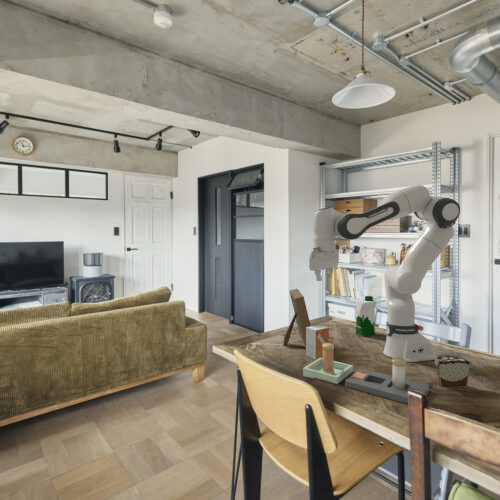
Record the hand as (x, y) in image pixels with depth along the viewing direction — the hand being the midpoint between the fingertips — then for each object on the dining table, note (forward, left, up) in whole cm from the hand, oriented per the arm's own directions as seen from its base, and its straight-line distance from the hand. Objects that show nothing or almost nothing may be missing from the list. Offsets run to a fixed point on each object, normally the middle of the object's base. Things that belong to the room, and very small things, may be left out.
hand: (324, 279), depth 149 cm
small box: (+2, -5, -35) cm, 35 cm away
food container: (-39, +25, -35) cm, 58 cm away
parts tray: (+2, +15, -35) cm, 38 cm away
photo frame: (+8, -25, -35) cm, 44 cm away
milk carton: (-30, -36, -35) cm, 59 cm away
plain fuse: (-18, +31, -34) cm, 50 cm away
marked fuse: (+2, +14, -34) cm, 37 cm away
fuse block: (-15, +29, -35) cm, 47 cm away
